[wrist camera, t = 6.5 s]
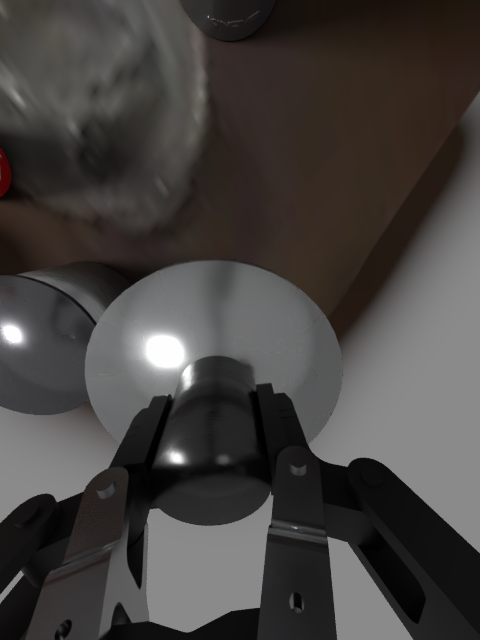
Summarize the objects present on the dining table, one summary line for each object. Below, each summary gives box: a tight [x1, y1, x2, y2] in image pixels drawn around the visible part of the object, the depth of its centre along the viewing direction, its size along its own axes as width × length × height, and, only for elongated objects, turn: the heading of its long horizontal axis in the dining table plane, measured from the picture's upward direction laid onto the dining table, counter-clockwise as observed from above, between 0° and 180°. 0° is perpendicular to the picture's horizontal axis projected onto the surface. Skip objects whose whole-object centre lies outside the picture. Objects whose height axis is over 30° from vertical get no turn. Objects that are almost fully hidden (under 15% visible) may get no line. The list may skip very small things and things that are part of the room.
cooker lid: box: [85, 258, 343, 526], centre depth 11 cm, size 13×13×6 cm
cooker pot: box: [0, 261, 132, 415], centre depth 25 cm, size 13×13×11 cm
